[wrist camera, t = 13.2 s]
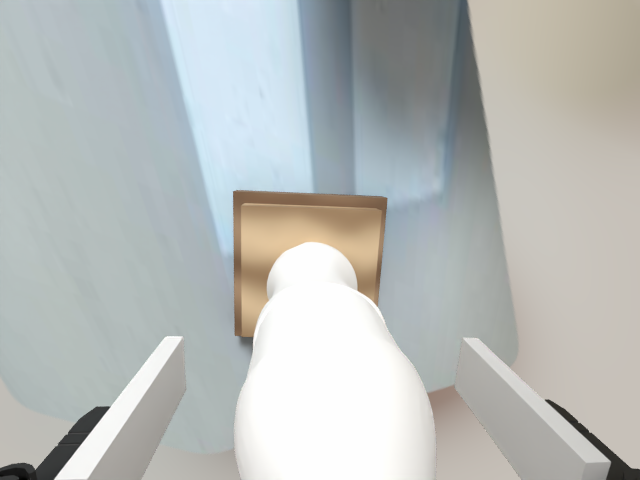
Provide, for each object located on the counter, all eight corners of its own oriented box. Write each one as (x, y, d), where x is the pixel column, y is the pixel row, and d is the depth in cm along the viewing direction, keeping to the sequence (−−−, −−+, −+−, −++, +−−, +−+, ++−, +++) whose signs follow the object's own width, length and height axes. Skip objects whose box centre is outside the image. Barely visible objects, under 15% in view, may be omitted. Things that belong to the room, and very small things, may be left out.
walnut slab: (237, 190, 30) (233, 191, 28) (381, 196, 31) (387, 197, 29) (238, 326, 32) (234, 335, 30) (370, 326, 34) (374, 336, 32)
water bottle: (332, 223, 27) (705, 714, 2) (361, 294, 28) (760, 1010, 4) (256, 255, 27) (-107, 1044, 3) (289, 324, 29) (264, 1209, 4)
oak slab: (244, 203, 28) (241, 205, 26) (376, 208, 29) (381, 210, 27) (245, 326, 30) (241, 336, 28) (365, 326, 31) (370, 337, 29)
